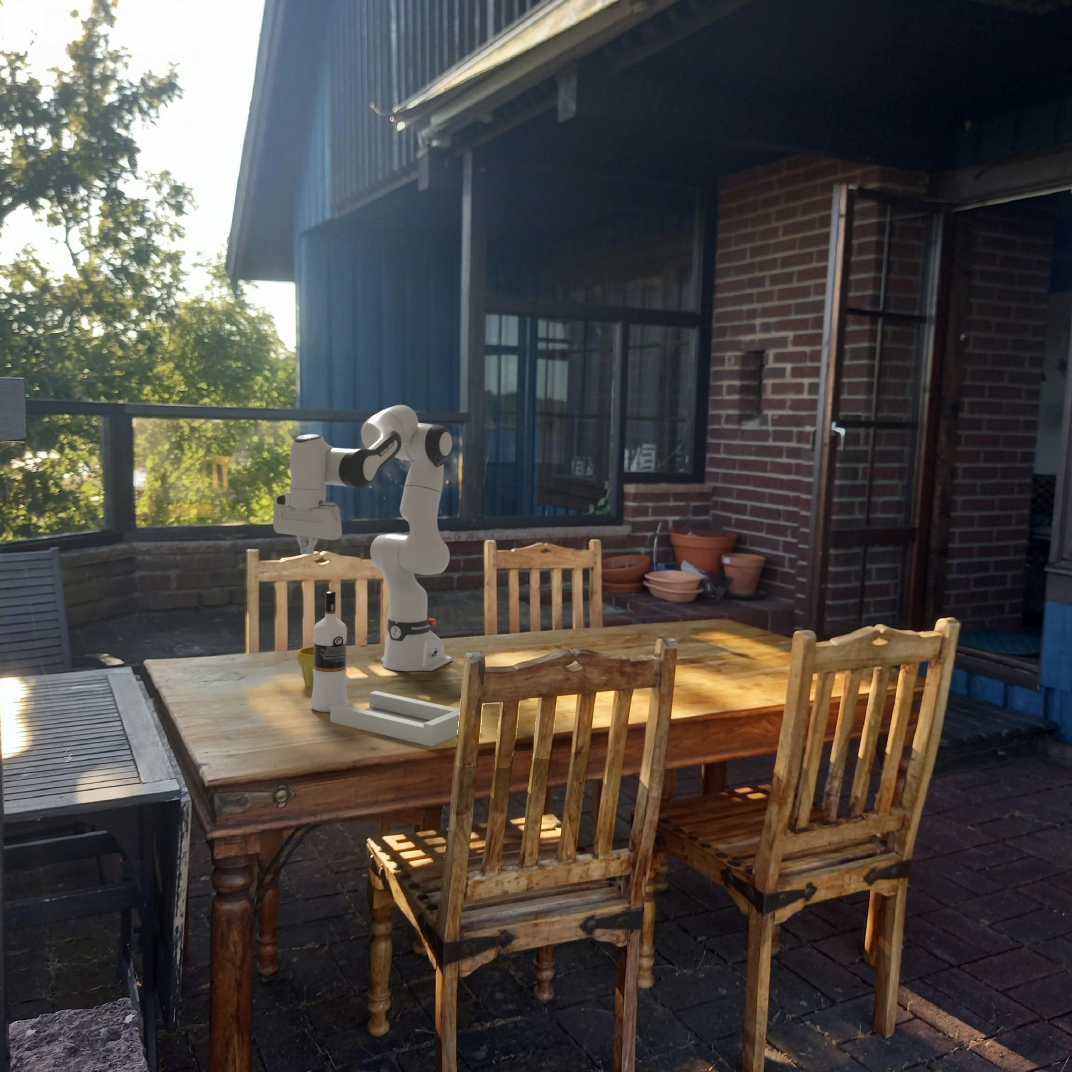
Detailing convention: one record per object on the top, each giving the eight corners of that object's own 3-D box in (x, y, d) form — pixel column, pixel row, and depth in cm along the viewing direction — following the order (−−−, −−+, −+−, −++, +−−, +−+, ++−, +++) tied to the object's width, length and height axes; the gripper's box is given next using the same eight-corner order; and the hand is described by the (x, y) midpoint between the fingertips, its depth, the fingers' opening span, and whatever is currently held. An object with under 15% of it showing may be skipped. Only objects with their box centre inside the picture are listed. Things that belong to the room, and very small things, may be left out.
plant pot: (298, 691, 278) (298, 655, 277) (296, 681, 288) (297, 646, 286) (338, 689, 281) (338, 654, 279) (334, 679, 290) (335, 645, 289)
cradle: (375, 706, 267) (375, 687, 266) (473, 728, 251) (474, 708, 251) (330, 721, 252) (330, 701, 252) (431, 746, 237) (432, 725, 236)
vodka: (339, 701, 270) (340, 587, 266) (353, 710, 262) (355, 593, 259) (305, 705, 265) (306, 589, 261) (318, 715, 257) (320, 596, 253)
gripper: (347, 501, 259) (346, 557, 260) (287, 495, 269) (286, 548, 271) (330, 503, 253) (329, 559, 255) (269, 497, 264) (268, 551, 265)
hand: (307, 554), depth 263 cm, fingers closed
